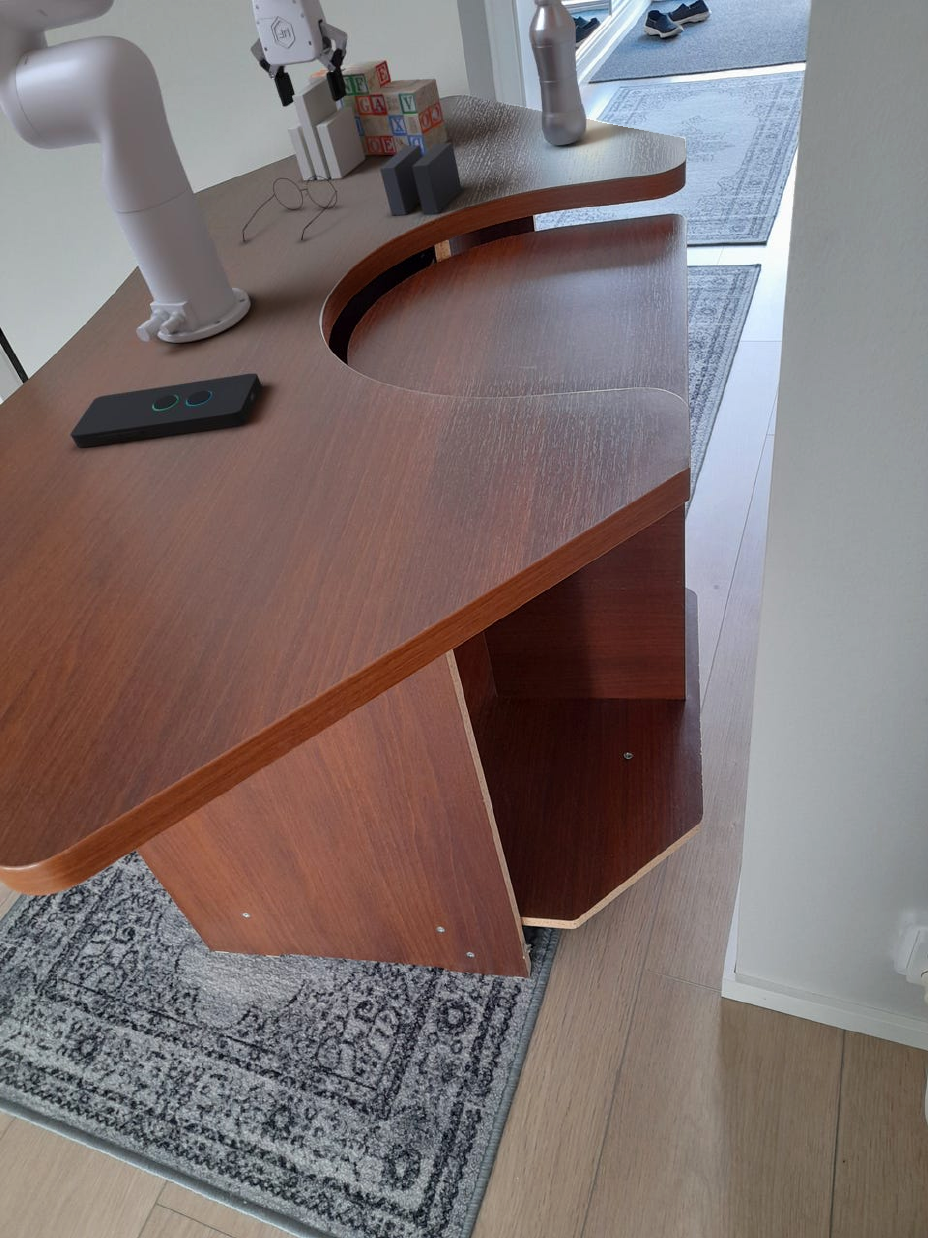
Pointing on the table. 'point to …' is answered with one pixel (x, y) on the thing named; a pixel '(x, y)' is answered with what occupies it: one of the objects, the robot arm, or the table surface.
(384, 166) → the grey books
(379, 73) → the stack of blocks
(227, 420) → the smart home device
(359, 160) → the white books
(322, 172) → the white book
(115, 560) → the table surface
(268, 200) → the eyeglasses
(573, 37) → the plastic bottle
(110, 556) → the table surface
